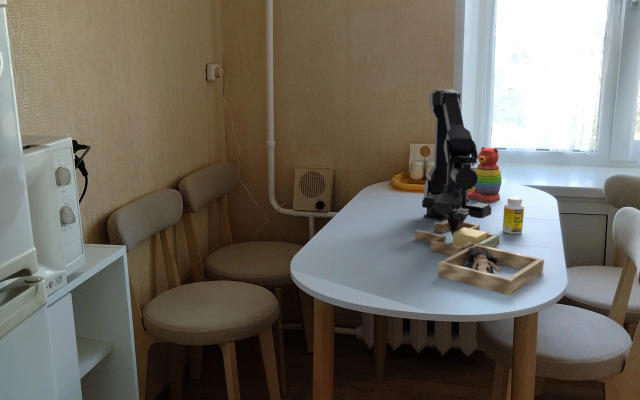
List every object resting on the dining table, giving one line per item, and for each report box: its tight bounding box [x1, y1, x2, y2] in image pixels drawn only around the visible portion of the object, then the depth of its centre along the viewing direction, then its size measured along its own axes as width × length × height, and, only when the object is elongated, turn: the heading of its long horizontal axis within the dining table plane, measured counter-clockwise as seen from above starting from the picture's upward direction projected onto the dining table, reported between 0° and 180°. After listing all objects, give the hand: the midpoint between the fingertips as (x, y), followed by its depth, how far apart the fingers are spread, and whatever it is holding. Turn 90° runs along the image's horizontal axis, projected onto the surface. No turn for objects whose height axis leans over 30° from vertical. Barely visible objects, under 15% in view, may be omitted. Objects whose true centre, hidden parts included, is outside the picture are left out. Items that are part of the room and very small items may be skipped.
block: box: [452, 227, 488, 247], centre depth 185 cm, size 7×6×4 cm
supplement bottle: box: [502, 196, 525, 235], centre depth 196 cm, size 6×6×10 cm
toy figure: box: [467, 247, 502, 274], centre depth 164 cm, size 7×6×15 cm
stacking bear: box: [467, 146, 503, 204], centre depth 233 cm, size 11×10×18 cm
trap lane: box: [414, 220, 500, 256], centre depth 188 cm, size 20×23×2 cm
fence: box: [437, 244, 545, 296], centre depth 164 cm, size 18×18×4 cm
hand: (454, 235), depth 189 cm, fingers closed
